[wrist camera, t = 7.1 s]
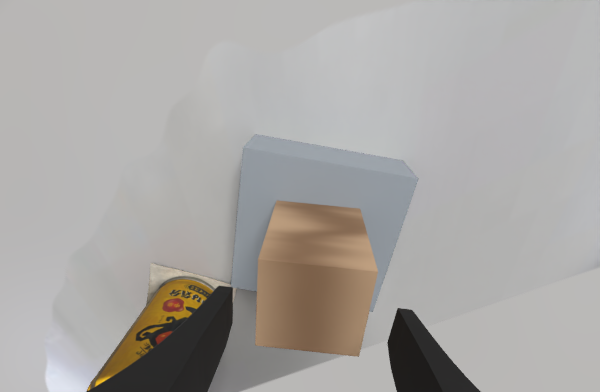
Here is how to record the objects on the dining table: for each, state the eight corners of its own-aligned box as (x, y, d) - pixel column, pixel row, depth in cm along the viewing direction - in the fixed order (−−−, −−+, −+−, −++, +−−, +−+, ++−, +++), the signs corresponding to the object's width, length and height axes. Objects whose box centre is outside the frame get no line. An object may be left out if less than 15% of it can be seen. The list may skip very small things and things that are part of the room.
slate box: (401, 158, 21) (418, 178, 17) (365, 275, 25) (372, 312, 21) (257, 132, 21) (243, 147, 17) (244, 254, 25) (230, 287, 21)
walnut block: (360, 208, 18) (377, 271, 13) (348, 276, 20) (358, 356, 15) (276, 200, 18) (257, 259, 13) (272, 268, 20) (255, 345, 15)
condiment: (237, 284, 25) (173, 451, 14) (220, 352, 29) (157, 529, 18) (152, 261, 25) (19, 414, 14) (144, 332, 28) (33, 500, 17)
